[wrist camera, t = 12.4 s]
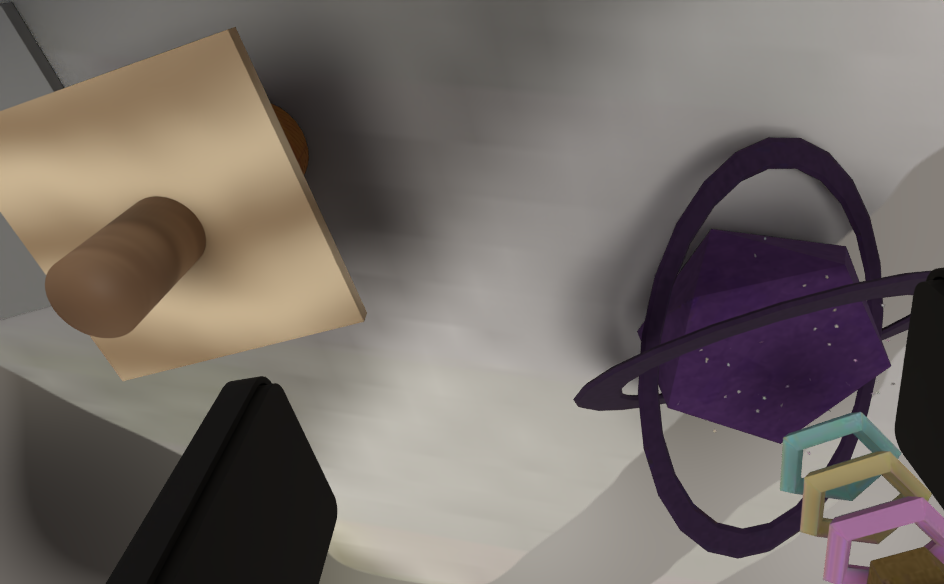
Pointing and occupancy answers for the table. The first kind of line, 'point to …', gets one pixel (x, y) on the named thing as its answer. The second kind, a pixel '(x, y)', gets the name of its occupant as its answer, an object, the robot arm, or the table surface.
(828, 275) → the decorative bottle
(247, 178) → the oak lid
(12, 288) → the rubber mat
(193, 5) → the table surface
